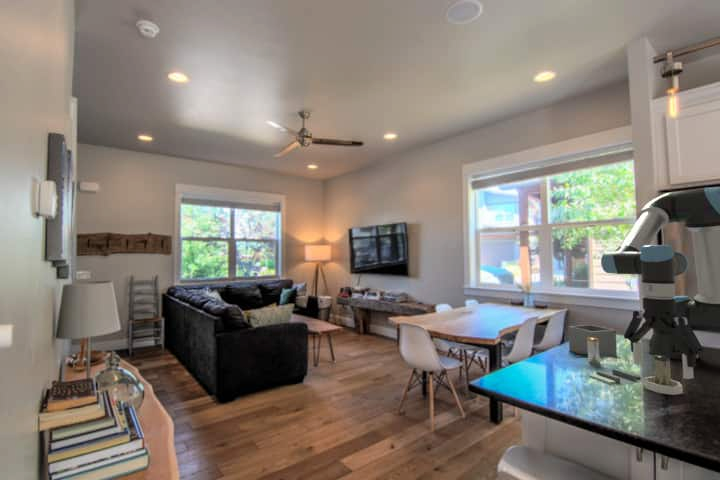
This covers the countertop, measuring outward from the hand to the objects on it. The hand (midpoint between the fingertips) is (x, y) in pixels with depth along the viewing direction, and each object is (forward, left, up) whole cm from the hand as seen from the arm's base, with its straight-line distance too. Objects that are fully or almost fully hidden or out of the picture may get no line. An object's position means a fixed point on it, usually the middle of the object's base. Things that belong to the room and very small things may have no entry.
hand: (661, 370), depth 106 cm
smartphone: (-19, -40, -7) cm, 45 cm away
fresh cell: (-4, -26, -7) cm, 27 cm away
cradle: (+4, -11, -7) cm, 13 cm away
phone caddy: (-19, -40, -7) cm, 45 cm away
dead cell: (-1, 0, -6) cm, 6 cm away
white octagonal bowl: (0, 0, -7) cm, 7 cm away
